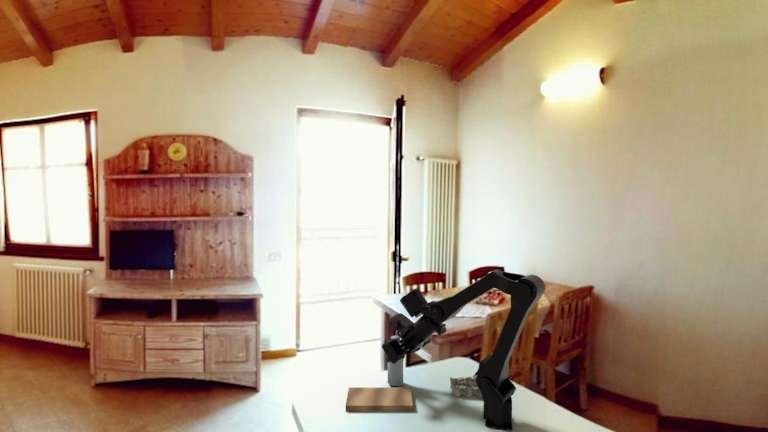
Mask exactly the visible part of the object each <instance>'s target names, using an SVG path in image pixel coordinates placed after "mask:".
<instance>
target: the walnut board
mask: <svg viewBox="0 0 768 432" xmlns="http://www.w3.org/2000/svg"><path fill="white" fill-rule="evenodd" d="M412 397H413V396H412V390H411V387H410V386H409V387H399V386H393V387H392V386H391V387H388V386H387V387H348V390H347V396H346V402H345V411H346V412H413V411H414V403H413V398H412Z"/></svg>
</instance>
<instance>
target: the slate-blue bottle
mask: <svg viewBox="0 0 768 432" xmlns="http://www.w3.org/2000/svg"><path fill="white" fill-rule="evenodd" d="M392 338H393V339H396V340H397V341H398V343H399V344H400V342H399V341H400V340H401V338H400V337H399V336H398V335H391V336H390V339H392ZM402 349H403V348H402ZM387 384H388V385H390V386H391V387H392V386H393V387H399V386H403V384H404V359H402V360H401V361H399V362H397V363H395V364H393V363H392V362H387Z"/></svg>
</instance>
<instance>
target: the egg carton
mask: <svg viewBox="0 0 768 432" xmlns="http://www.w3.org/2000/svg"><path fill="white" fill-rule="evenodd" d="M476 377H477V375H475V374H473V375H472V376H469V375H468V376H466V377H465V376H461V377H460V376H459V377H449V382H450V385H449V386H450V390H451V392H450V393H451V395H454V396H455V397H460V396H463V395H465V396H466V397H469V398H472V397H473V396H478V397H479V398H482V395H481V392H480V389H479V387H478V385H477V384H476Z"/></svg>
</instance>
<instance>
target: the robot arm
mask: <svg viewBox="0 0 768 432" xmlns="http://www.w3.org/2000/svg"><path fill="white" fill-rule="evenodd" d="M494 289H496V290H498V291H500V292H502V293H503V294H506V295H508V296H510V299H509V300H510V302H509V303H510V309H509V311H508V314H507V317H506V319H505V322H504V324H503V327H502V329H501V332H500V334H499V337H498V339H497V341H496V343H495V346H494V348H493V352H492V353H489V354H488V355H486V356H485V357H484V358H483V359H481V360H480V362H479V364H478V368H477V370H476V371H475V373H474V375H477V377H476V384H477V385H478V386H477V387H478V388H479V389H480V392H481V395H482V397H481V398H482V400H483V420H484V423H485V424H484V425H485V427H487V428H491V429H493V428H494V429H500V430H507V431H513V427H514V426H513V400H512V396H513V395H514V394H515V393H516V390H517V388H516V386H515V384H514V383H513V382H512V381H511V379H510V378H509V376H508V375H509V371H510V364H509V363H510V359H511V356H512V355H513V352H514V350H515V347H516V344H517V342H518V340H519V337H520V335H521V333H522V331H523V328H524V326H525V323H526V321H527V319H528V317H529V314H530V312H531V311H532V310H533V309H534V308H535V306H536V305H537V304H538V302H539V301H540V300H541V297H543V295H544V294H545V292H546V284H545V283H544V280H543V279H542V278H541V277H540V276H538V275H536V274H529V275H525V274H519V273H513V272H508V271H503V270H500V269H494V270H492V271H489V272H487V273H486V274H485V275H484V276H482V277H481V278H479V279H478V280H476V281H475V282H473V283H471V284H469V285H468V286H466V287H465V288H463V289H462V290H460V291H458V292H457V293H455V294H453V295H450V296H448V297H445V298H442V299H440V300H432V301H428V300H427V299H426V298H425V297H424V295H423V294H422V292H421V291H420V289H419V288H418V287H417V288H413V289H412V290H411V291H410V292H408V293H406V294H405V295H402V297H401V298H400V299H399V302H400V303H401V305H402V307H403V308H404V309H405V311H406V312H407V313H408V315H409V316H410V317H411V318H415V319H417V318H419V319H417V320H416V321H415V322H413V321H412V320H411V319H410V318H409V317H408V316H406V315H405V314H403V313H401V312H399V313H397V314H395V315H393V316H392V317H390V319H389V320H388V326H389V328H391V329H392V330H393V331H397V333H399V334H398V335H397V336H399V337H400V341H399V342H400V344H399V343H398V341H397V340H396V339H393V338H392V339H391V338H390V339H388V340H386V341H384V343H382V344H381V348H382V350H383V351H384V353H385V355H386V357H385V361H386V362H387V363H388V362H392V363H393V364H395V363H397V362H399V361H401V360H402V359H403V360H404V359H405V357H406V355H410V354H412V353H416V352H419V351H420V350H421V349H423V348H425V347H427V346H428V345H430V344H431V341H432V338H431V337H432V335H434V334H435V333H436V334H437V335H438V336H443V335H444V334H446V333H447V327H446V326H447V325H446V323H444V322H447V321H449V320H451V319H453V318H455V317H456V315H458V314H459V313H460V312H461V311H462V310H463V309H464V308H465V307H466V306H467V305H468V304H470V303H471V302H473V301H475V300H476V299H478V298H480V297H481V296H484V295H485V294H487V293H489V292H490V291H492V290H494ZM421 347H422V348H421ZM402 348H403V349H402Z"/></svg>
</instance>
